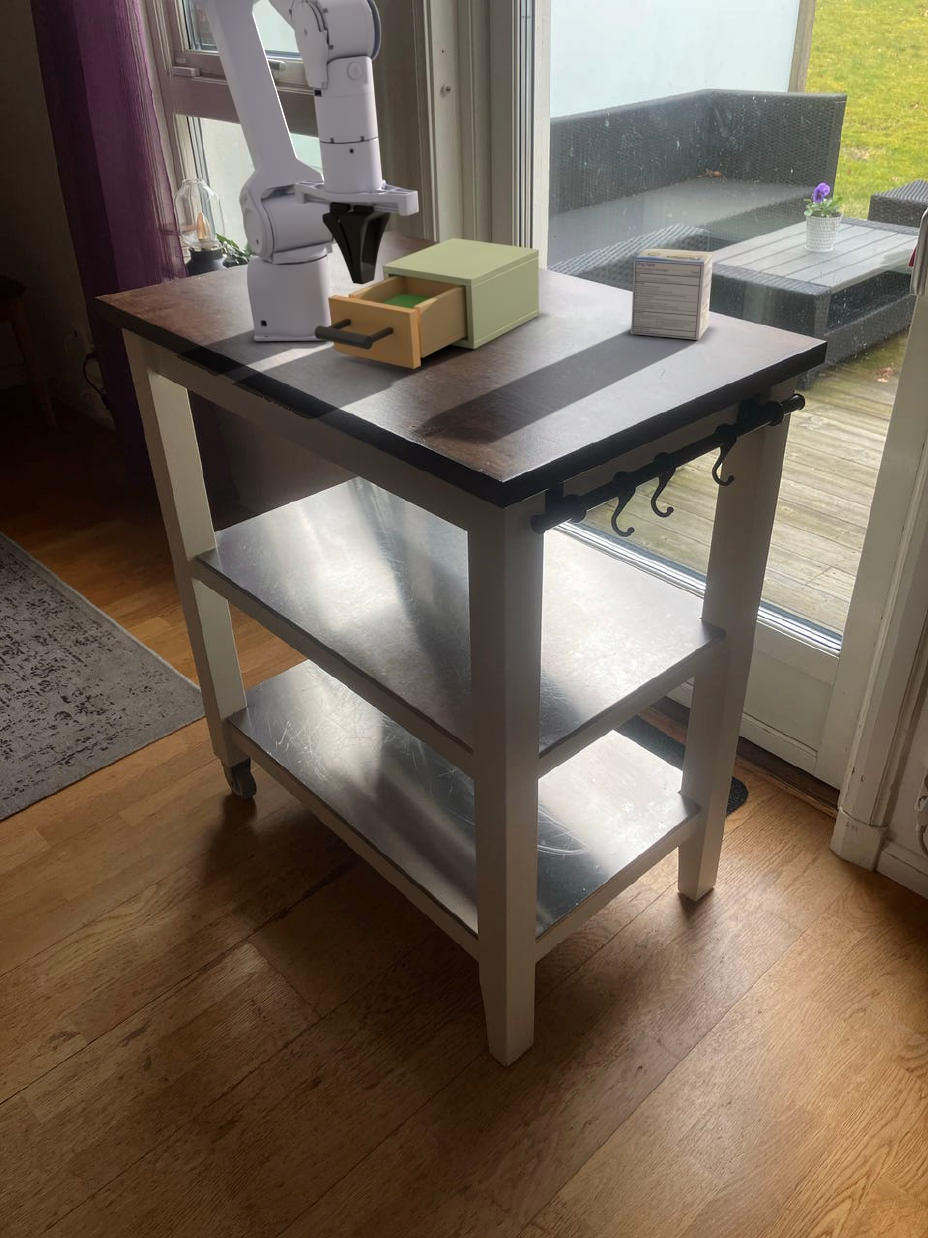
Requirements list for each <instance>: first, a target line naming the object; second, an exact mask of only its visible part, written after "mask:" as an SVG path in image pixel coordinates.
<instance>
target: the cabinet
mask: <svg viewBox="0 0 928 1238" xmlns="http://www.w3.org/2000/svg"><path fill="white" fill-rule="evenodd" d="M539 252H540V249H539V248H538V249H537V248H530V247H524V246H523V247H522V246H515V245H510V244H509V245H508V244H500V243H494V242H486V241H478V240H473V239H472V240H471V239H463V238H455V237H452V238H449V239H447V240H444V241H442V242H438V243H436V244H434V245H431V246H429V247H426V248H423V249H421V250H419V251H416V252H413V253H411V254H407V255H406V256H403V257H401V258H398V259H396V260H393V261H390V262H387V263H385V264H382V275H383V280H385V279H388V278H390V277H392V276H395V275H403V276H409V277H415V278H421V279H427V280H433V281H440V282H446V283H452V284H458V285H464V286H466V302H467V324H468V335H467V336H465V337H463V338H461V339H459V340H457V341H455V342H453V343H451V344H449V345H451V346H456V347H461V348H466V349H470V350H475V349H478V348H480V347H481V346H484V345H485V344H487V343H489V342H491V341H493V340H495V339H497V338H498V337H501V336H502V335H505V334H506V333H508V332H510V331H512V330H514V329H516V328H518V327H520V326H522V325H523V324H525V323H528V322H529V321H532V320H533V319H535V318H537V317H539V316H540V309H539V308H540V286H539V285H540V278H539V277H540V274H539V273H540V266H539V265H540V263H539V260H540V259H539V258H540V257H539V256H540V253H539Z"/></svg>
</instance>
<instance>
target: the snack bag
mask: <svg viewBox="0 0 928 1238" xmlns="http://www.w3.org/2000/svg"><path fill="white" fill-rule="evenodd" d="M429 299H431V298H427V297H421V296H415V295H409V294H401V295H399V296H397V297H394V298H392V299H390V300H387V301H385V302H383V303H382V304H388V305H393V306H399V307H404V308H409V309H414V306H415V305H417V304H420V303H422V302H424V301H426V300H429Z"/></svg>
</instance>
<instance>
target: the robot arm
mask: <svg viewBox="0 0 928 1238" xmlns="http://www.w3.org/2000/svg"><path fill="white" fill-rule="evenodd" d="M260 1H261V0H189V2H191V3H193V4H194V5H195V6H198V7H199V8H200V9H202V10H203V11H204V13H205V16H206V19H207V22H208V25H209V28H210V31H211V34H212V36H213V37H212V38H213V40H214V44H215V46H216V47H215V48H216V50H217V53H218V56H219V60H220V62H221V66H222V69H223V72H224V76H225V79H226V82H227V85H228V89H229V92H230V95H231V98H232V101H233V105H234V107H235V110H236V115H237V118H238V120H239V124H240V127H241V130H242V134H243V136H244V139H245V143H246V146H247V149H248V152H249V155H250V158H251V162H252V165H253V168H254V171H253V172H252V173H251V174H250V176H249V178H248V179H247V180H246V181H245V183H244V184H243V185H242V187H241V190H240V193H239V197H238V199H239V200H238V201H239V206H240V210H241V214H242V225H243V230H244V234H245V238H246V240H247V243H248V246H249V247H250V249H251V250H252V252H253V253H254V254H255V255H256V256H253V257H251V258H250V259H249V261H248V264H247V267H246V285H247V286H246V287H247V293H248V299H249V305H250V311H251V317H252V322H253V329H254V334H255V335H254V337H253V340H254V341H255V342H283V341H284V342H290V341H291V342H294V341H295V342H296V341H298V342H301V341H302V342H303V341H311V342H312V341H321V340H320V339H317V338H316V337H315V329H316V327H317V326H325V327H328V326H330V325H331V318H330V310H329V302H328V298H329V297H331V296H334V295H333V287H332V281H331V278H332V277H331V271H330V262H329V254H332V253H334V252H333V246H334V245H335V244H337V247H338V248H339V250H340V252H341V255H342V258H343V259H344V262H345V265H346V267H347V271H348V273H349V276H350V279H351V281H352V284H356V285H361V286H363V285H366V284H368V283H370V282H372V281H375V277H376V269H377V263H378V262H377V261H378V256H379V251H380V247H381V242H382V238H383V236H384V233H385V230H386V227H387V225H388V223H389V220H390V219H391V216H392V213H393V214H398V215H399V216H402V217H408V216H411V215H415V214H417V213H419V211H420V208H419V194H418V193H419V192H418V190H411V189H406V188H403V187H399V186H394V185H391V184H387V182H386V180H385V179H383V175H382V174H383V173H382V163H381V162H382V161H381V152H380V142H379V141H380V140H379V130H378V129H379V128H378V119H377V118H378V117H377V108H376V97H375V96H376V95H375V83H374V73H373V62H372V61H374V60H375V59H376V58H377V57H378V55H379V52H380V49H381V46H382V45H381V44H382V25H381V18H380V14H379V10H378V8H377V5H376V2H375V1H374V0H268V2H269V4H270V5H271V7H273V8H274V10H275V11H276V12H277V13H278V14H279V15H280V16H281V17H282V18H283V20H284V21H285V22H286V23H287V24H288V25H289V26H290V27H291V29H292V30H293V32H294V38H295V43H296V47H297V50H298V52H299V55H300V57H301V60H302V62H303V67H304V68H303V69H304V74H305V80H306V81H307V86H308V87H309V88H312V92H313V99H314V107H315V108H314V109H315V118H316V125H317V135H318V142H319V143H318V144H319V150H320V160H321V168H322V169H321V170H322V173H321V171H319V170H317V169H316V168H314V167H313V166H311V165H309V164H307V163H305V162H304V161H302V160H300V159H299V158H298V157H297V153H296V150H295V147H294V144H293V140H292V136H291V134H290V130H289V128H288V127H289V126H288V124H287V121H286V117H285V113H284V111H283V106H282V104H281V101H280V98H279V94H278V91H277V87H276V85H275V81H274V78H273V74H272V72H271V67H270V65H269V61H268V58H267V54H266V51H265V48H264V45H263V42H262V37H261V35H260V31H259V29H258V25H257V22H256V18H255V15H254V6H255V5H256V4H257V3H259V2H260Z"/></svg>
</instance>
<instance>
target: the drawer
mask: <svg viewBox="0 0 928 1238" xmlns="http://www.w3.org/2000/svg"><path fill="white" fill-rule="evenodd" d="M401 294H409V295H415V296H421V297H427V298H431V299H429V300H426V301H424V302H422V303H420V304H417V305H415V306H414V309H409V308H404V307H399V306H393V305H388V304H382V303H383V302H385V301H387V300H390V299H392V298H394V297H397V296H399V295H401ZM328 302H329V310H330V318H331V325H330V326H328V327H325V326H317V327H316V329H315V337H316V338H317V339H320V340H319V341H326V342H330V343H333V350H334V352H336V353H341V354H345V355H350V356H354V357H358V358H363V359H368V360H373V361H376V362H380V363H386V364H390V365H395V366H398V367H403V368H408V369H413V370H415V369H417V368H419V367H421V358H425V357H427V356H429V355H431V354H434V353H435V352H437V351H439V350H441V349H443V348H445V347H447V346H449V345H450V344H451V343H453V342H455V341H457V340H459V339H461V338H463V337H465V336H467V335H468V324H467V302H466V286H464V285H458V284H452V283H446V282H440V281H433V280H427V279H421V278H415V277H409V276H403V275H395V276H392V277H390V278H388V279H385V280H384V279H383V280H381V281H378V282H375V283H373V284H370V285H368V286H365V287H364V288H361V289H358V290H355V291H353V292H351V293H348V296H344V295H338V294H334V295H333V296H331V297H329V298H328Z"/></svg>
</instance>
